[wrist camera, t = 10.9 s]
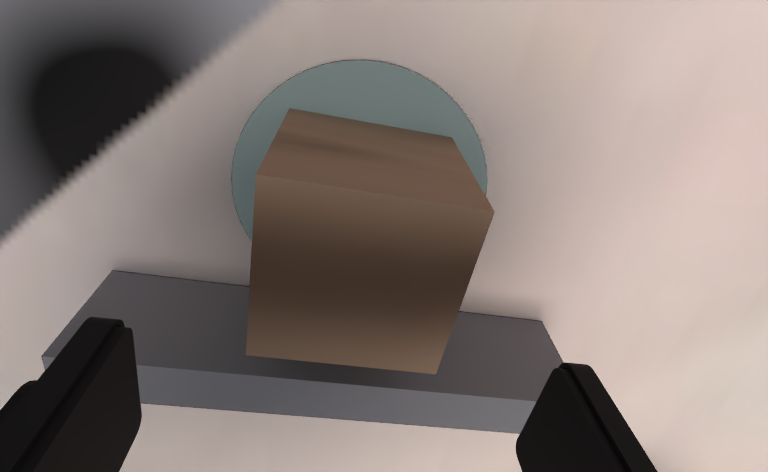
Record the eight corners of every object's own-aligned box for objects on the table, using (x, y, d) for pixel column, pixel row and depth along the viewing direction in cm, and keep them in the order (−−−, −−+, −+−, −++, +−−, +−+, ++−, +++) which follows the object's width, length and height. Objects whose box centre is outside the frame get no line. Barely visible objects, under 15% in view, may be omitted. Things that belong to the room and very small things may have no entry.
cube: (414, 269, 20) (435, 376, 14) (276, 251, 19) (245, 357, 14) (451, 137, 17) (494, 211, 11) (289, 107, 16) (255, 174, 11)
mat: (340, 323, 21) (339, 329, 21) (178, 166, 17) (174, 170, 17) (526, 213, 19) (529, 218, 18) (392, -6, 14) (393, -5, 14)
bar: (527, 350, 23) (566, 437, 19) (117, 306, 20) (52, 396, 16) (541, 321, 22) (586, 406, 18) (112, 270, 19) (41, 356, 15)
